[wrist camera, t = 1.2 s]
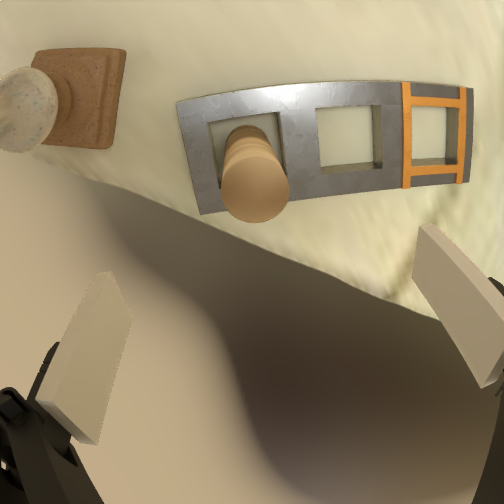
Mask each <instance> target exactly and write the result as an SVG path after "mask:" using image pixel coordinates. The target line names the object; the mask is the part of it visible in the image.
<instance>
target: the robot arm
mask: <svg viewBox="0 0 504 504" xmlns="http://www.w3.org/2000/svg"><path fill="white" fill-rule="evenodd" d="M412 279H413V281H414V282H415V284H416V285H417V286H418V288H419V289H420V291H421V292H422V294H423V295H424V297H425V298H426V299H427V301H428V302H429V304H430V305H431V307H432V308H433V310H434V311H435V313H436V314H437V316H438V317H439V319H440V321H441V322H442V324H443V325H444V326H445V328H446V330H447V331H448V333H449V335H450V336H451V338H452V339H453V341H454V343H455V344H456V346H457V348H458V349H459V351H460V353H461V354H462V356H463V358H464V359H465V361H466V363H467V365H468V366H469V368H470V370H471V372H472V373H473V375H474V377H475V379H476V381H477V382H478V384H479V386H480V387H481V388H483V387H485V386H487V385H490V384H492V383H494V382H496V381H497V379H498V378H499V376H500V374H501V373H502V371H503V372H504V286H503V285H502V284H501V283H500V282H498V281H496V280H495V279H493V278H492V277H489V278H487V277H486V276H485V275H484V274H483V273H482V272H481V271H480V270H479V268H478V267H477V266H476V265H475V264H474V263H473V262H472V261H471V260H470V259H469V258H468V257H467V256H466V255H465V254H464V253H463V252H462V251H461V250H460V249H459V248H458V247H457V246H456V245H455V244H454V243H453V242H452V241H451V240H450V239H449V238H448V237H447V236H446V235H445V234H444V233H443V232H442V231H441V230H440V229H439V228H438V227H437V226H436V225H435V224H433V223H432V224H426V225H419V230H418V238H417V246H416V253H415V260H414V266H413V272H412ZM132 321H133V317H132V315H131V313H130V311H129V309H128V307H127V305H126V302H125V300H124V298H123V296H122V294H121V292H120V289H119V287H118V285H117V283H116V280H115V278H114V276H113V273H112V271H107V272H100V273H96V275H95V277H94V279H93V281H92V282H91V284H90V286H89V288H88V289H87V291H86V293H85V295H84V297H83V299H82V300H81V302H80V304H79V306H78V308H77V310H76V312H75V314H74V315H73V317H72V319H71V322H70V323H69V325H68V327H67V329H66V331H65V333H64V336H63V337H62V339H61V342H56V343H55V344H54V345H53V346H52V348H51V349H50V350H49V351H48V353H47V355H46V357H45V359H44V361H43V364H42V365H41V368H40V370H39V371H40V372H39V373H38V374H37V376H36V379H35V381H34V383H33V386H32V388H31V390H30V393H29V395H28V397H27V400H25V399H24V398H23V397H22V396H21V395H20V394H19V393H18V391H17V390H16V389H14V388H12V387H6V388H4V389H2V390H0V504H104V502H103V501H102V499H101V497H100V496H99V494H98V492H97V490H96V489H95V487H94V485H93V483H92V481H91V480H90V478H89V476H88V474H87V473H86V470H85V468H84V466H83V464H82V462H81V460H80V459H79V456H78V455H77V453H76V450H75V448H74V447H73V445H72V444H71V443H70V439H71V435H72V436H73V437H74V438H75V439H76V440H78V441H79V442H80V443H85V444H92V445H98V442H99V437H100V433H101V429H102V425H103V421H104V417H105V413H106V409H107V405H108V401H109V398H110V394H111V390H112V386H113V383H114V379H115V376H116V373H117V369H118V366H119V363H120V359H121V356H122V353H123V349H124V346H125V343H126V340H127V337H128V334H129V331H130V327H131V324H132ZM501 390H502V394H501V400H500V406H499V411H498V416H497V421H496V425H495V430H494V434H493V438H492V442H491V446H490V449H489V453H488V457H487V460H486V463H485V467H484V470H483V473H482V476H481V479H480V482H479V485H478V488H477V490H476V493H475V496H474V499H473V502H472V504H504V381H503V383H502V384H501V386H500V387H499V388H498V390H497V392H496V394H495V396H498V395H499V393H500V392H501ZM1 461H2V462H4V463H5V464H6V470H4V469H3V468H2V467H1Z"/></svg>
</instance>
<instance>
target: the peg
mask: <svg viewBox="0 0 504 504" xmlns="http://www.w3.org/2000/svg"><path fill="white" fill-rule="evenodd" d="M289 193H290V188H289V182H288V179H287V177H286V175H285V173H284V171H283V169H282V167H281V165H280V163H279V161H278V159H277V157H276V155H275V153H274V151H273V149H272V147H271V145H270V143H269V141H268V139H267V137H266V135H265V133H264V132H263V131H262V130H261V129H259V128H258V127H255V126H252V125H243V126H240V127H237V128H236V129H234V130H233V131H232V132H231V133H230V135H229V136H228V138H227V142H226V150H225V158H224V167H223V175H222V184H221V198H222V202H223V204H224V206H225V208H226V209H227V210H228V212H229V213H230V214H231V215H233V216H234V217H235V218H237V219H239V220H241V221H244V222H249V223H260V222H265V221H268V220H270V219H272V218H274V217H275V216H277V215H278V214H279V213H280V212H281V211H282V210H283V209H284V207H285V205H286V204H287V201H288V198H289Z"/></svg>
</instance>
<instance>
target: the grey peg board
mask: <svg viewBox="0 0 504 504" xmlns="http://www.w3.org/2000/svg"><path fill="white" fill-rule="evenodd" d="M357 105H372V120H373V148H374V162H369V163H358V164H347V165H337V166H327V167H320V153H319V141H318V129H317V118H316V108H321V107H336V106H357ZM411 105H414V106H440V107H447V138H446V158H433V159H413V160H411V152H412V117H411ZM176 106H177V111H178V116H179V121H180V126H181V131H182V136H183V140H184V145H185V150H186V154H187V159H188V164H189V168H190V173H191V177H192V182H193V186H194V191H195V195H196V199H197V204H198V208H199V212H200V215H203V214H209V213H215V212H222V211H228V210H227V209H226V208H225V206H224V204H223V202H222V198H221V184H222V181H220V178H219V173H218V168H217V162H216V157H215V152H214V147H213V141H212V136H211V130H210V125H209V122H211V121H217V120H223V119H228V118H235V117H241V116H248V115H255V114H262V113H270V112H277V117H278V125H279V133H280V141H281V149H282V158H283V166H284V173H285V175H286V177H287V179H288V182H289V188H290V193H289V198H288V201H296V200H303V199H311V198H318V197H326V196H334V195H343V194H351V193H360V192H369V191H378V190H387V189H397V188H402V189H408V188H410V187H418V186H429V185H441V184H453V183H455V184H462V183H467V182H469V178H470V169H471V157H472V143H473V116H474V95H473V88H468V87H463V86H456V85H447V84H437V83H424V82H409V81H379V80H355V81H325V82H308V83H295V84H284V85H275V86H266V87H258V88H250V89H243V90H237V91H230V92H224V93H218V94H213V95H207V96H202V97H197V98H192V99H187V100H183V101H179V102H177V103H176ZM288 201H287V202H288Z"/></svg>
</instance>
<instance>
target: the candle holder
mask: <svg viewBox="0 0 504 504" xmlns="http://www.w3.org/2000/svg"><path fill="white" fill-rule="evenodd" d="M125 58H126V51H125V50H122V49H113V48H66V49H49V50H42V51H38V52H36V54H35V58H34V59H33V61H32V64H31V68H29V67H24V68H19V69H17V70H14V71H12V72H10V73H8V74H7V75H5V76H4V77H3V78H2V79H1V80H0V149H2V150H5V151H8V152H14V153H21V152H25V151H29V150H31V149H33V148H35V147H37V146H38V145H40V144H46V145H58V146H70V147H80V148H90V149H106V148H108V147H109V146H111V145H112V143H113V138H114V132H115V124H116V116H117V109H118V102H119V95H120V88H121V82H122V77H123V71H124V65H125Z"/></svg>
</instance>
